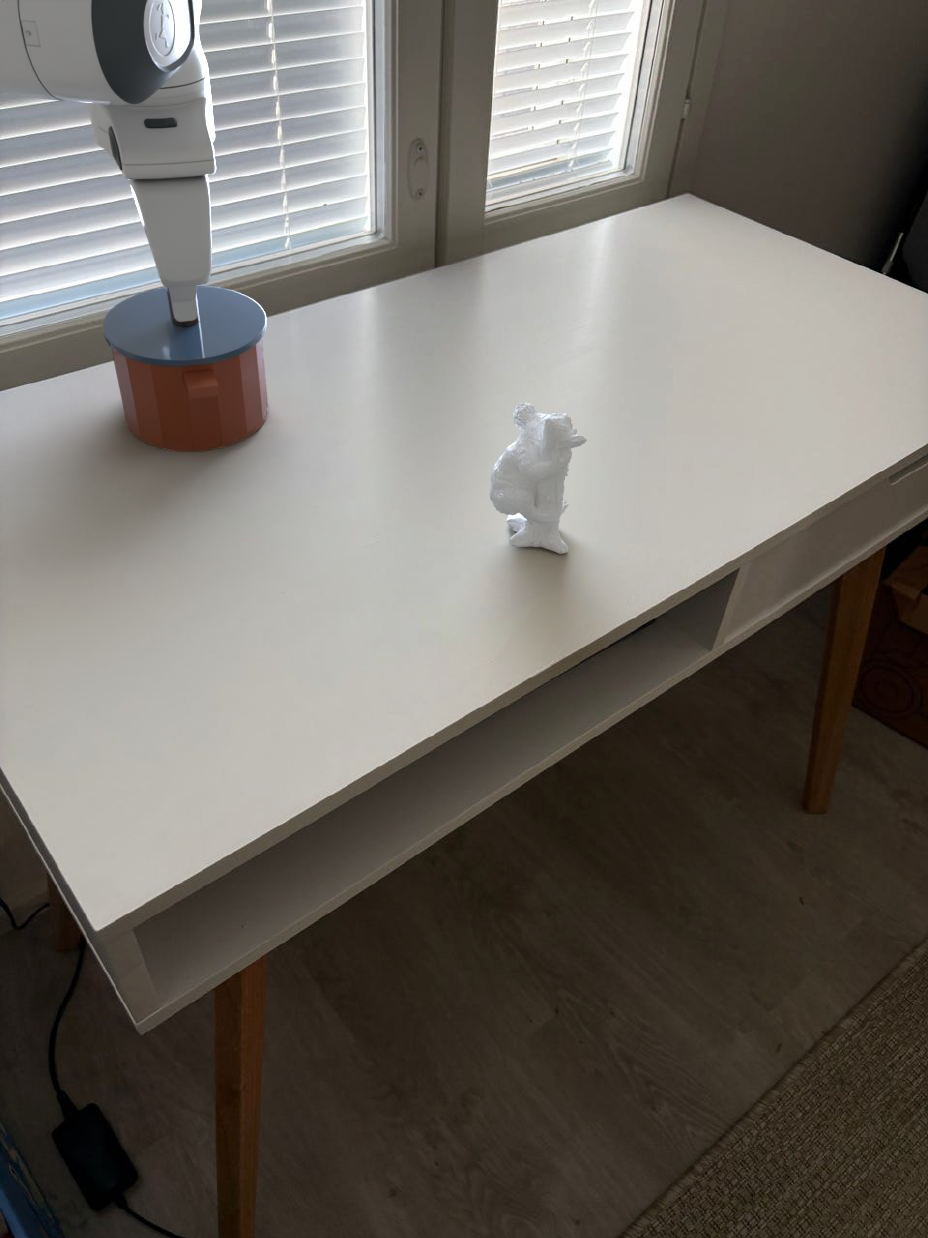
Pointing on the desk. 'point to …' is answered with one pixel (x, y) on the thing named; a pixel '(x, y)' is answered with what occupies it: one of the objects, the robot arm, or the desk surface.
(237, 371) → the pot
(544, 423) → the koala figurine
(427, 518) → the desk surface
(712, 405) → the desk surface
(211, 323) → the lid
